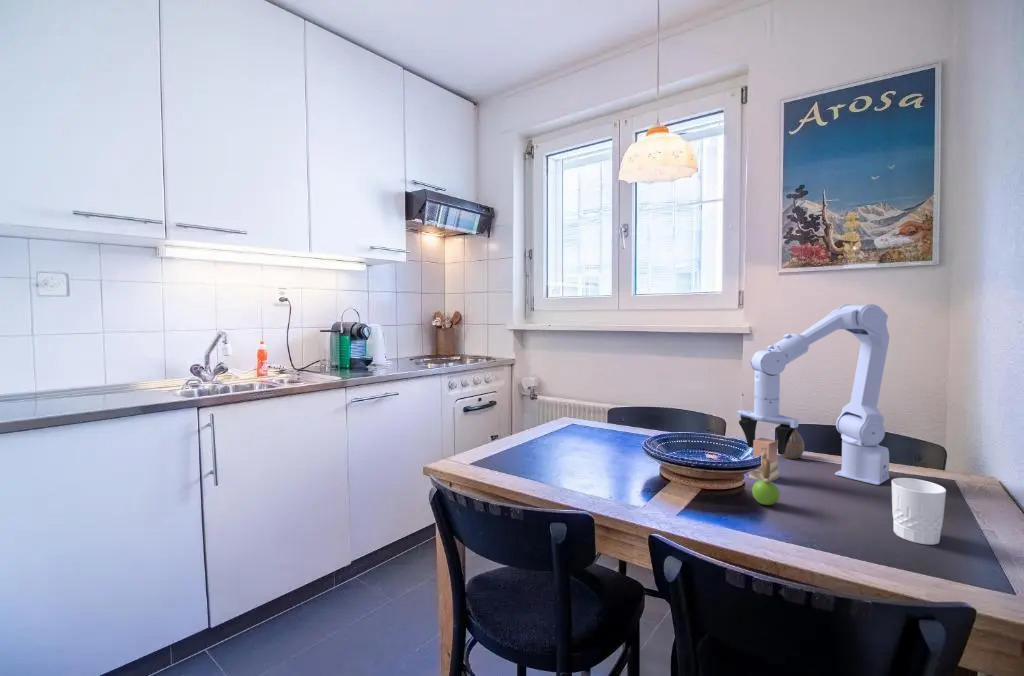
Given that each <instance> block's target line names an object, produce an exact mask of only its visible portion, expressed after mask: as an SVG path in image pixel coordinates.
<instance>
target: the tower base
mask: <svg viewBox="0 0 1024 676" xmlns="http://www.w3.org/2000/svg"><path fill="white" fill-rule="evenodd" d="M779 471H780V469H779V468H778V469H777V470H776V471H774V472H772V473H771V474H770V477H769V479H770V481H771V482H773V481H775V480H777V479H780V478H779V477H780V475H779V474H780V472H779ZM748 478H752V479H755V480H757V481H759V480H763V478H762V472H759V471H755V470H754V471H751V472H748Z"/></svg>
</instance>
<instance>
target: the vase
mask: <svg viewBox="0 0 1024 676" xmlns="http://www.w3.org/2000/svg"><path fill="white" fill-rule="evenodd" d="M776 441H777V449H778V438H777V440H776ZM804 451H805V441H804V439H803V436H802V435H801V434H800V433H799V432H798V430H797V427H796V428H795V430H794V432H793V433H792V435H791V437H790V439H789V441H788V443H787V446H786V450H785V453H784V454H781V456H782V457H783V458H785V459H790V460H797V459H800V458H801V457H802V455H803V454H804Z"/></svg>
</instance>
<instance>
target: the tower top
mask: <svg viewBox="0 0 1024 676" xmlns="http://www.w3.org/2000/svg"><path fill="white" fill-rule="evenodd" d="M778 466H779V460H778V459H777V460H776V461H774V462H771V463H770V474H771V473H772V472H774V471H776V470H777V469H778V470H779V467H778ZM755 471H759V472H762V471H761V466H760V467H759V468H758V469H756V470H755Z"/></svg>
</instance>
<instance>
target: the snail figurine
mask: <svg viewBox="0 0 1024 676" xmlns="http://www.w3.org/2000/svg"><path fill="white" fill-rule="evenodd" d="M761 449H763V447H761ZM764 449H765V450H766V449H767V448H766V447H764ZM761 471H762V478H763V480H756V481H755V483H754V484H753V486H752V488H751V490H752V491H751V492H752V496H753V498H754V499H755V500H756V501H757V502H758V503H759V504H761V505H765V506H771V505H774V504H776V503H777V502H778V500H779V499H780V490H779V487H778V485H776V483H774V482H773V481H770V479H769V477H770V462H769V460H768V459H767V454H766V453H765V452H763V453H761Z"/></svg>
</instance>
